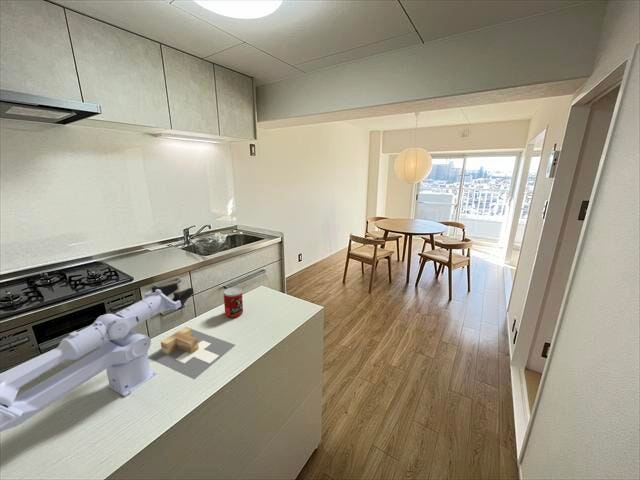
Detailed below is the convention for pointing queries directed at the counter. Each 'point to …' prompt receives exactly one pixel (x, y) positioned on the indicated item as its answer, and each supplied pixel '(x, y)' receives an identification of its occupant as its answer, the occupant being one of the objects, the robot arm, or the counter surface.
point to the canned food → (233, 302)
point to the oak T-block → (180, 342)
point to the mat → (194, 355)
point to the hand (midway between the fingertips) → (184, 288)
